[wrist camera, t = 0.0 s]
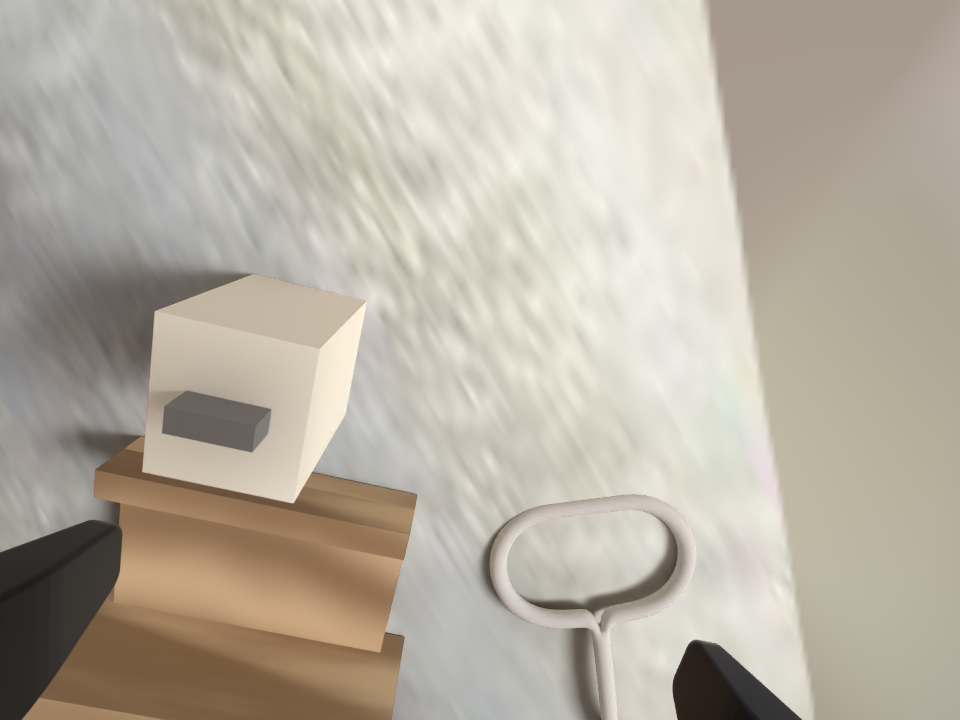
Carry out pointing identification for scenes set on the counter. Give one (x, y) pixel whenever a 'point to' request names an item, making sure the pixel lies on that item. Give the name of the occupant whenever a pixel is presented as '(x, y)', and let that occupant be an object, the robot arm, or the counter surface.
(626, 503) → the hook
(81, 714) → the board
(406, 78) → the counter surface
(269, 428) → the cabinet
